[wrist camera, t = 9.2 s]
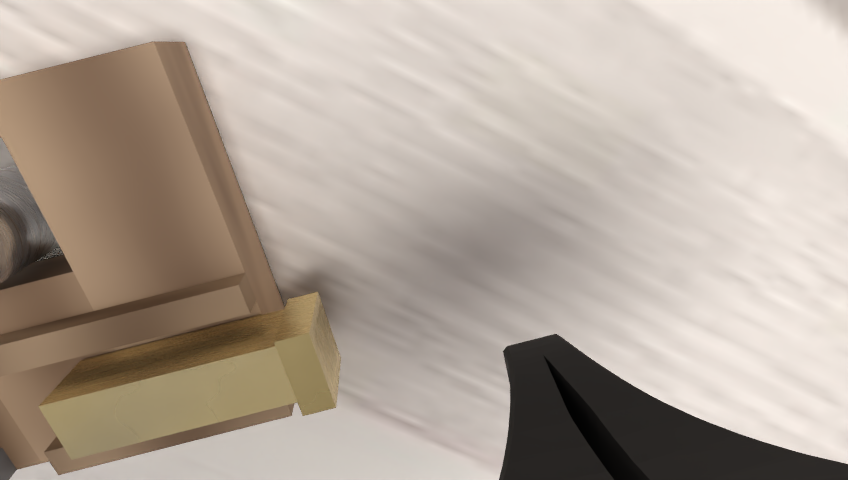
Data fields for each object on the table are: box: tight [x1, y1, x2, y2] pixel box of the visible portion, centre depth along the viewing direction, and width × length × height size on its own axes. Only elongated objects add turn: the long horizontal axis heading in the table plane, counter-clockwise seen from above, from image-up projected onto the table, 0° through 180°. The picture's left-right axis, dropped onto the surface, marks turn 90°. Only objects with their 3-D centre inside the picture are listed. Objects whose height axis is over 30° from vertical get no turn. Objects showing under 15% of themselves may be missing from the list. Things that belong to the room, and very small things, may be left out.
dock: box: [0, 42, 294, 480], centre depth 15 cm, size 13×12×6 cm
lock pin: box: [38, 292, 341, 460], centre depth 16 cm, size 8×3×3 cm, turn 103°
